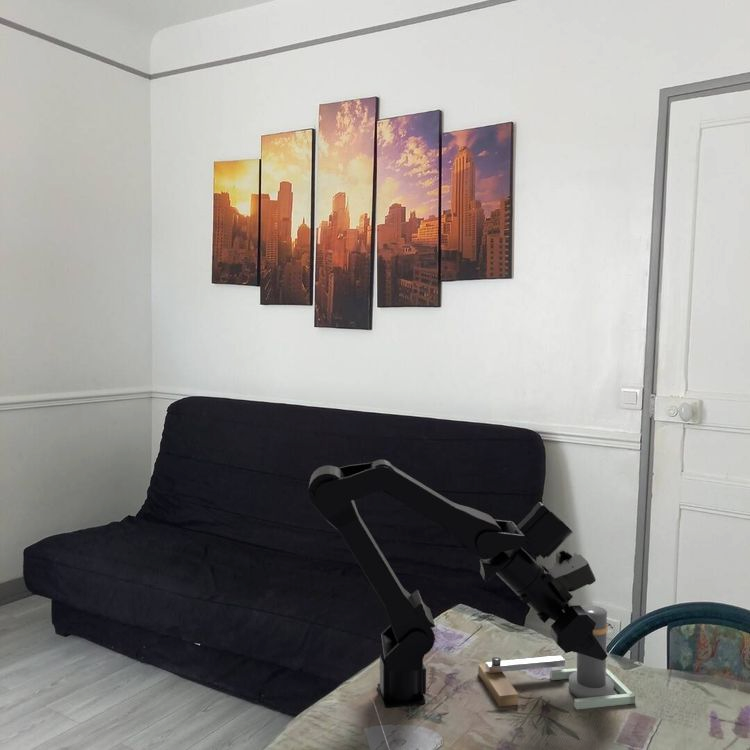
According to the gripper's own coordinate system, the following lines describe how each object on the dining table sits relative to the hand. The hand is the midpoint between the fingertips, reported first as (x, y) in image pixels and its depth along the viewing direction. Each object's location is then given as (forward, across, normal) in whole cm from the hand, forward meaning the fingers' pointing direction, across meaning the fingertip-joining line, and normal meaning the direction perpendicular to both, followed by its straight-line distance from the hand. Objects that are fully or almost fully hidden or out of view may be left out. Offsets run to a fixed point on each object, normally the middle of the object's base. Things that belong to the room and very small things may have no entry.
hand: (594, 643), depth 111 cm
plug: (+5, 0, +6) cm, 8 cm away
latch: (-3, +4, +11) cm, 12 cm away
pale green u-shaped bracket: (+5, 0, +6) cm, 8 cm away
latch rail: (-6, +1, +16) cm, 17 cm away
